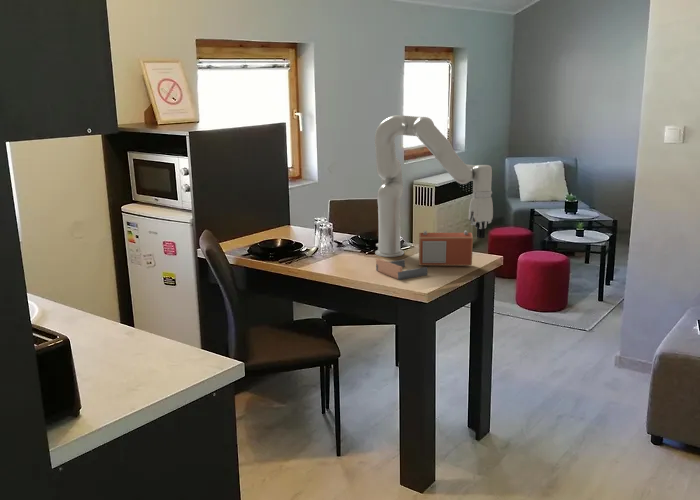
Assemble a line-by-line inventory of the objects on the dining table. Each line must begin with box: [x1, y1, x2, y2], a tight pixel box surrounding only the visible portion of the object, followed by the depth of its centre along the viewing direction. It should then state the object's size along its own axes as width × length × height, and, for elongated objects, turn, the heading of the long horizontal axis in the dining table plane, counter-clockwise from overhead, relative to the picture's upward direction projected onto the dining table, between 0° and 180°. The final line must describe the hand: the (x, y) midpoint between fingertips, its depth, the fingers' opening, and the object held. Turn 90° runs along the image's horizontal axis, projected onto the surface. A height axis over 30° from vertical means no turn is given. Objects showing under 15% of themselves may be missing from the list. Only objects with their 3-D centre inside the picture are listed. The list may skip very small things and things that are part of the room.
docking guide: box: [375, 258, 428, 281], centre depth 260 cm, size 16×13×5 cm
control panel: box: [418, 229, 474, 266], centre depth 268 cm, size 21×7×15 cm, turn 85°
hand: (480, 237), depth 279 cm, fingers closed
